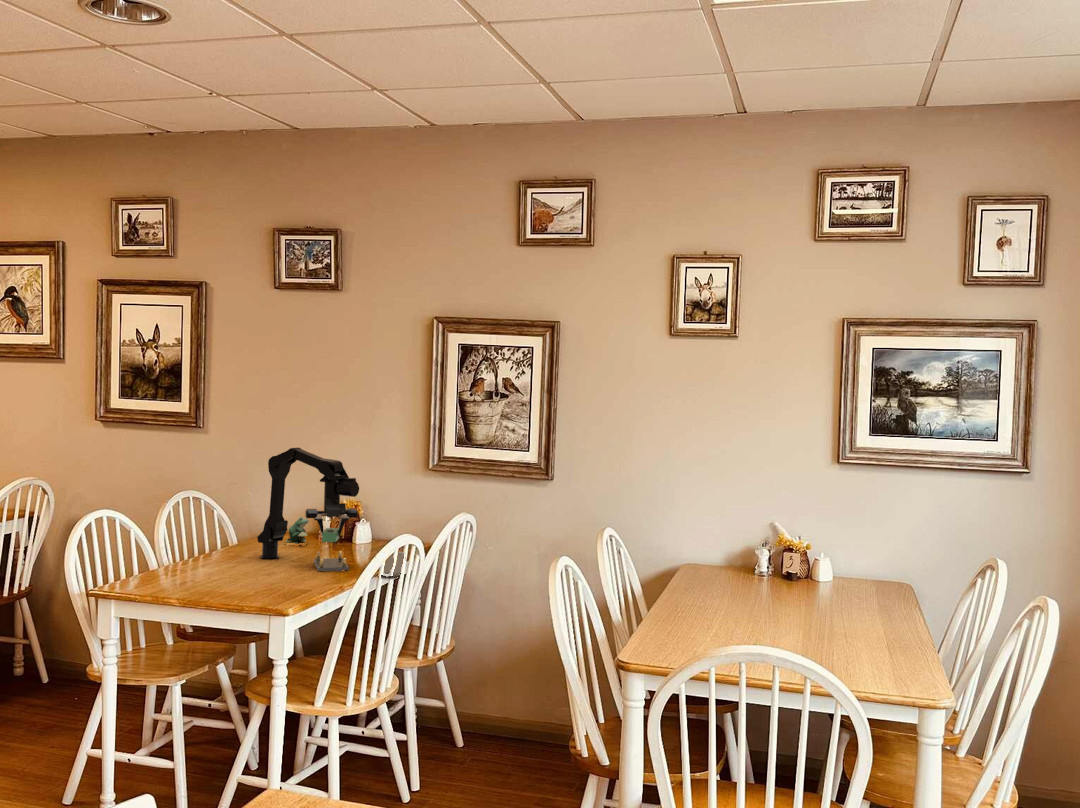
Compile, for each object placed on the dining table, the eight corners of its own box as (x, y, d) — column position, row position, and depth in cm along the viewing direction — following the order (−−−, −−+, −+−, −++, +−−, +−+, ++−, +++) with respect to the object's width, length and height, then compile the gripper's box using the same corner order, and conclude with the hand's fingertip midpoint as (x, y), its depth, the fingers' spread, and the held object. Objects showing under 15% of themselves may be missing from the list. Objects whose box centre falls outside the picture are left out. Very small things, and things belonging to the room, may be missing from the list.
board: (325, 537, 363) (326, 527, 363) (339, 537, 364) (339, 527, 363) (322, 541, 353) (322, 531, 353) (335, 542, 354) (336, 531, 353)
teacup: (408, 578, 345) (408, 555, 345) (378, 579, 341) (378, 556, 341) (399, 570, 358) (399, 548, 358) (370, 571, 354) (370, 549, 354)
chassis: (313, 562, 365) (314, 550, 365) (343, 562, 369) (343, 550, 369) (318, 571, 349) (318, 559, 349) (348, 571, 353) (349, 558, 352)
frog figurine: (318, 549, 394) (319, 521, 394) (272, 548, 391) (273, 520, 390) (320, 541, 412) (321, 514, 411) (276, 541, 408) (277, 513, 408)
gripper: (308, 497, 347) (306, 540, 348) (360, 497, 353) (359, 539, 354) (305, 493, 358) (304, 535, 358) (356, 493, 364) (355, 534, 364)
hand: (331, 536), depth 358 cm, fingers closed on board, 5 cm apart
